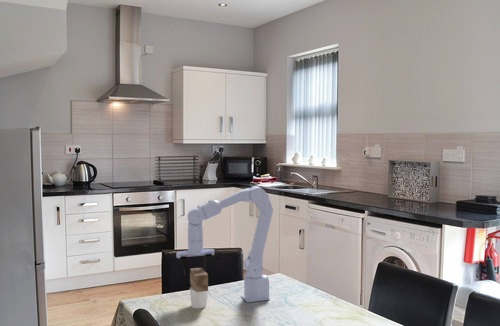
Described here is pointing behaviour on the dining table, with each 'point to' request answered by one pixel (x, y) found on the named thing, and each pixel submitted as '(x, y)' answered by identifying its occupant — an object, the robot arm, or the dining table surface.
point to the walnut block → (198, 279)
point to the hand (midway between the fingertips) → (195, 274)
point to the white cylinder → (198, 298)
